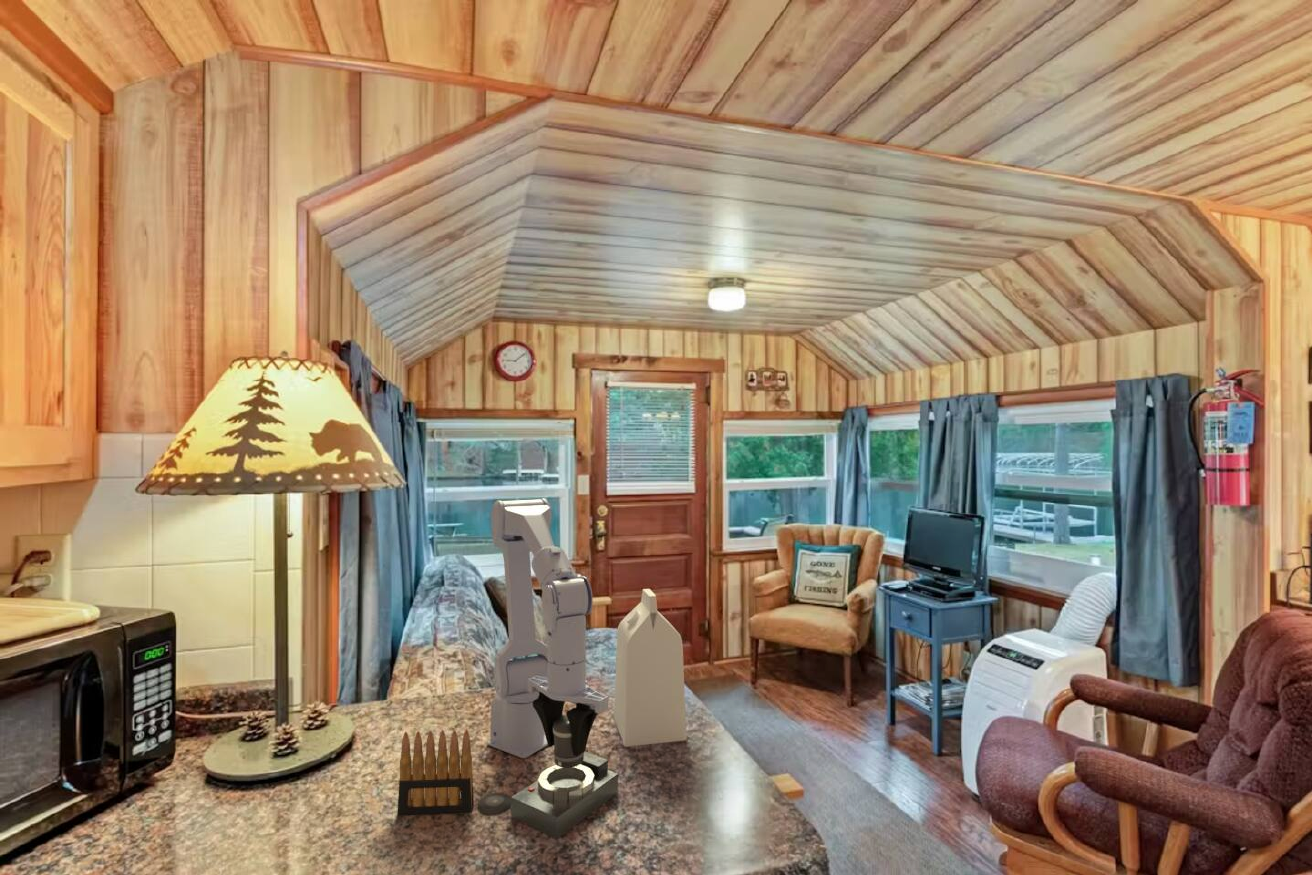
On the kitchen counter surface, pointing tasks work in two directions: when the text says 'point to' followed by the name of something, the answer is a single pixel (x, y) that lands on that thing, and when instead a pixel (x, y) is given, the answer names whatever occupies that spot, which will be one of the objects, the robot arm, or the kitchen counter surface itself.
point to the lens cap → (494, 803)
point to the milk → (649, 677)
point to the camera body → (565, 796)
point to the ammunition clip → (435, 777)
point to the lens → (564, 744)
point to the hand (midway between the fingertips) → (566, 748)
